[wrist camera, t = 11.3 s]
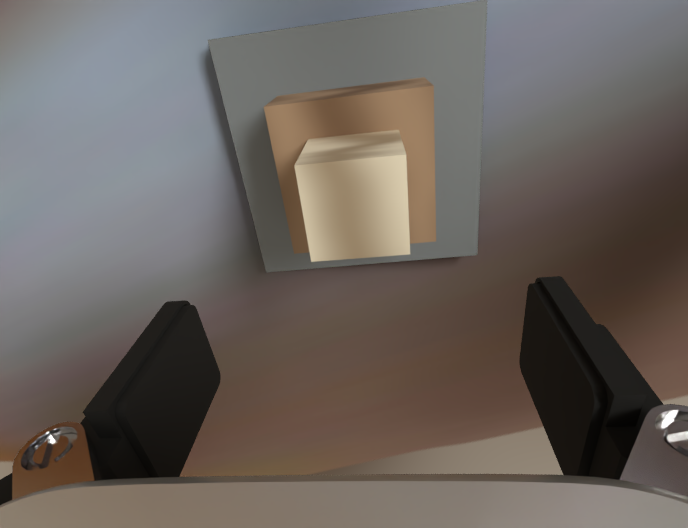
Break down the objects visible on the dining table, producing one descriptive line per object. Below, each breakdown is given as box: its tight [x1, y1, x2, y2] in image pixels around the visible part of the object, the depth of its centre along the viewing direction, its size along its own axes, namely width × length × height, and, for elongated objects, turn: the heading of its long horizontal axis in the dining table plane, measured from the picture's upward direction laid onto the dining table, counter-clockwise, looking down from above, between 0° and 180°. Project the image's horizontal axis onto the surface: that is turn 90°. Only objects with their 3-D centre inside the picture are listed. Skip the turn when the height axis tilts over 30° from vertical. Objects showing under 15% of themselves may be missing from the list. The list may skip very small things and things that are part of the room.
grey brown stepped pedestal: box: [208, 0, 487, 272], centre depth 26 cm, size 16×16×6 cm
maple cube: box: [294, 130, 410, 262], centre depth 22 cm, size 5×5×5 cm
